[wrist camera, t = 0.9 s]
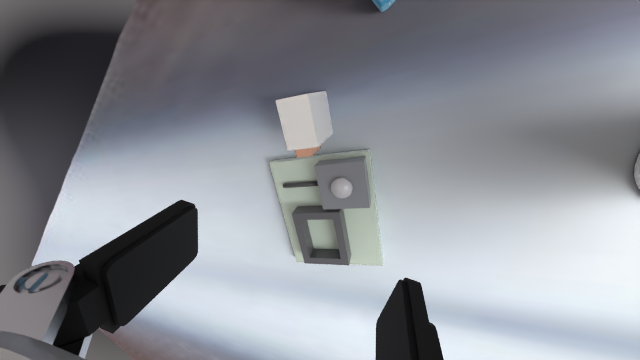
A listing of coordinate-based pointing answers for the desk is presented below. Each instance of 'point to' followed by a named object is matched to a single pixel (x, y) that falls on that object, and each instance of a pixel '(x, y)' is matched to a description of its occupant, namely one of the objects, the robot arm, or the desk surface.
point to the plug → (305, 122)
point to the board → (326, 227)
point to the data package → (383, 4)
